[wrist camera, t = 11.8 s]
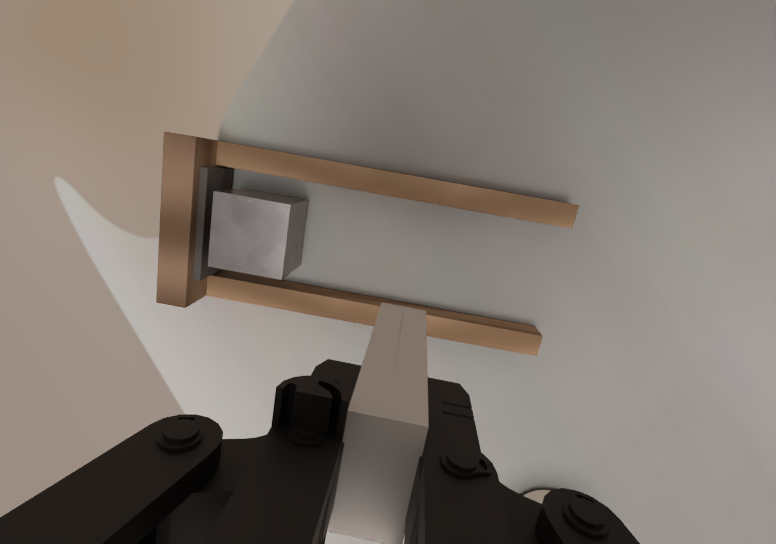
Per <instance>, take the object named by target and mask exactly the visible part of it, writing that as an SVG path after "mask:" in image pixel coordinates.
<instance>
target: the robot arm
mask: <svg viewBox="0 0 776 544" xmlns="http://www.w3.org/2000/svg"><path fill="white" fill-rule="evenodd" d="M471 408H472V406H471V402H470V397H469V395H468V393H467V392H466V391H465V390H464V389H463V387H462V386H461V385H460V384H458V383H453V382H448V381H443V380H438V379H433V378H428V377H427V332H426V311H424V310H419V309H414V308H409V307H404V306H398V305H393V304H388V303H383V302H382V303H381V306H380V309H379V313H378V316H377V319H376V322H375V325H374V328H373V332H372V335H371V338H370V341H369V344H368V347H367V351H366V354H365V357H364V360H363V363H362V366H360V365H355V364H350V363H345V362H340V361H335V360H330V359H328V360H326V361H324V362H323V363H321V364H319V365H318V366H316V367H315V369H314V371H313V373H312V375H311V376H299V377H293V378H290V379H288V380H285V381H283V382H282V383H281V384H279V385H278V386H277V387H276V394H275V402H274V411H273V419H272V427H271V429H270V431H269V432H268V434H267V435H264V436H260V437H256V438H248V439H222V436H223V431H222V429H221V428H220V426H219V424H218V423H216V422H215V421H213V420H212V419H210V418H208V417H204V416H199V415H177V416H172V417H167V418H163V419H162V420H159V421H157V422H155V423H152V424H150V425H149V426H147V427H146V428H144V429H142V430H141V431H139V432H137V433H136V434H134V435H133V436H131V437H129V438H128V439H126V440H124V441H123V442H121V443H120V444H118V445H116V446H115V447H113V448H112V449H110V450H108V451H107V452H105V453H104V454H102V455H100V456H99V457H97V458H95V459H94V460H92V461H91V462H89V463H88V464H86V465H84V466H83V467H81V468H79V469H78V470H76V471H75V472H73V473H71V474H70V475H68V476H66V477H65V478H63V479H62V480H60V481H59V482H57V483H55V484H54V485H52V486H51V487H49V488H47V489H46V490H44V491H42V492H41V493H39V494H38V495H36V496H34V497H33V498H31V499H29V500H28V501H26V502H25V503H23V504H22V505H20V506H18V507H17V508H15V509H13V510H12V511H10V512H9V513H7V514H5V515H4V516H2V517H0V544H325V538H326V533H327V531H329V532H333V533H338V534H343V535H347V536H352V537H357V538H361V539H366V540H371V541H375V542H380V543H385V544H402V543H403V538H404V534H405V541H404V544H640V543H639V542H638V541H637V540H636V538H635V537H634V536H633V535H632V534H631V532H630V531H629V530H628V529H627V527H626V526H625V525H624V524H623V523H622V521H621V520H620V519H619V518H618V517H617V516H616V515H615V514H614V513H613V512H612V511H611V510H610V509H609V508H608V507H606V506H605V505H603V504H602V503H600V502H599V501H597V500H596V499H594V498H593V497H590V496H588V495H586V494H584V493H581V492H579V491H575V490H569V489H564V488H561V489H555V490H551V491H550V492H548V493H547V494H546V495H545V496H544V499H543V502H542V504H541V503H539V502H536V501H534V500H532V499H530V498H527V497H525V496H523V495H520V494H518V493H516V492H514V491H513V490H511V489H509V488H507V487H506V486H504V485H503V484H502V483H500V482H499V479H498V475H497V472H496V470H495V468H494V466H493V464H492V462H491V461H490V460H489V459H488V458H487V457H486V456H485V455H484V454H482V453H481V450H480V445H479V440H478V436H477V431H476V426H475V421H474V420H473V419H474V416H473V411H472V410H471Z"/></svg>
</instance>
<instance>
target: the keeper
mask: <svg viewBox="0 0 776 544" xmlns="http://www.w3.org/2000/svg"><path fill="white" fill-rule="evenodd" d="M308 203H309V200H305V199H300V198H294V197H289V196H283V195H278V194H272V193H267V192H261V191H256V190H250V189H245V188H240V189H229V190H217V191H213V204H212V217H211V230H210V243H209V256H208V267H214V268H219V269H225V270H230V271H236V272H241V273H246V274H252V275H257V276H263V277H268V278H274V279H279V280H282V279H283V278H285V277H286V276H287V275H288V274H290V273H291V272H292V271H293V270H294V269H296V268H297V267H298V266H299V265H301V257H302V250H303V242H304V234H305V226H306V219H307V211H308Z"/></svg>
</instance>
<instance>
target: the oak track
mask: <svg viewBox="0 0 776 544" xmlns="http://www.w3.org/2000/svg"><path fill="white" fill-rule="evenodd" d="M228 167H232V168H238V169H243V170H249V171H254V172H260V173H265V174H271V175H276V176H282V177H288V178H293V179H299V180H304V181H310V182H315V183H321V184H327V185H332V186H338V187H343V188H349V189H354V190H360V191H366V192H371V193H377V194H382V195H388V196H393V197H399V198H405V199H410V200H416V201H421V202H427V203H432V204H438V205H444V206H449V207H455V208H460V209H466V210H471V211H477V212H483V213H488V214H494V215H499V216H505V217H510V218H516V219H522V220H527V221H533V222H538V223H544V224H549V225H555V226H561V227H566V228H573V225H574V221H575V218H576V214H577V210H578V207H579V205H574V204H569V203H563V202H558V201H552V200H547V199H541V198H535V197H530V196H524V195H519V194H513V193H507V192H502V191H496V190H491V189H485V188H480V187H474V186H468V185H463V184H457V183H452V182H446V181H440V180H435V179H429V178H424V177H418V176H412V175H407V174H401V173H396V172H390V171H384V170H379V169H373V168H368V167H362V166H356V165H351V164H345V163H340V162H334V161H328V160H323V159H317V158H312V157H306V156H301V155H295V154H289V153H284V152H278V151H273V150H267V149H261V148H256V147H250V146H245V145H239V144H233V143H228V142H222V141H217V140H211V139H205V138H200V137H194V136H187V135H181V134H175V133H169V132H164V145H163V169H162V190H161V211H160V234H159V256H158V278H157V300H156V302H157V303H162V304H168V305H173V306H178V307H184V308H186V307H187V306H189V305H191V304H192V303H194V302H196V301H197V300H199V299H201V298H202V297H204V296H206V295H207V296H213V297H218V298H224V299H229V300H235V301H240V302H245V303H251V304H256V305H262V306H267V307H273V308H278V309H284V310H289V311H294V312H300V313H305V314H311V315H316V316H322V317H327V318H333V319H338V320H343V321H349V322H354V323H360V324H365V325H371V326H374V325H375V322H376V319H377V316H378V313H379V309H380V306H381V303H382V302H383V303H388V304H393V305H398V306H404V307H409V308H414V309H419V310H424V311H426V332H427V336H431V337H436V338H441V339H447V340H452V341H458V342H463V343H469V344H474V345H480V346H485V347H490V348H496V349H501V350H507V351H512V352H518V353H523V354H529V355H534V356H537V354H538V350H539V347H540V343H541V340H542V335H541V334H540V332H539V331H538V330H537V329H536V327H535V326H530V325H524V324H519V323H513V322H508V321H502V320H497V319H491V318H486V317H480V316H475V315H470V314H464V313H459V312H453V311H448V310H442V309H437V308H431V307H426V306H420V305H415V304H409V303H404V302H398V301H393V300H387V299H382V298H377V297H371V296H366V295H360V294H355V293H349V292H344V291H338V290H333V289H327V288H322V287H316V286H311V285H305V284H300V283H294V282H289V281H284V280H278V279H273V278H267V277H262V276H256V275H251V274H245V273H240V272H234V271H229V270H223V269H219V268H214V267H208V256H209V243H210V230H211V217H212V204H213V191H217V190H229V189H232V178H233V169H230V168H228Z"/></svg>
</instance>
